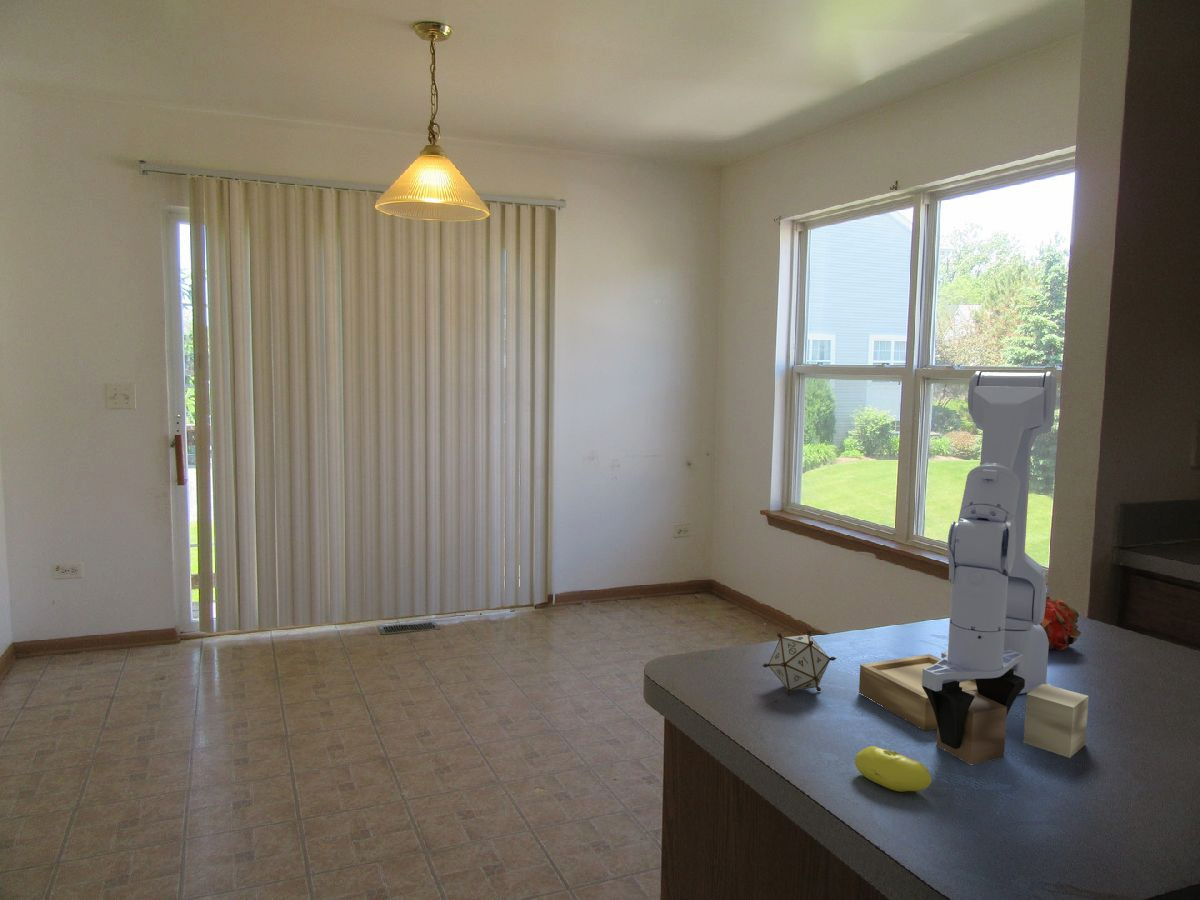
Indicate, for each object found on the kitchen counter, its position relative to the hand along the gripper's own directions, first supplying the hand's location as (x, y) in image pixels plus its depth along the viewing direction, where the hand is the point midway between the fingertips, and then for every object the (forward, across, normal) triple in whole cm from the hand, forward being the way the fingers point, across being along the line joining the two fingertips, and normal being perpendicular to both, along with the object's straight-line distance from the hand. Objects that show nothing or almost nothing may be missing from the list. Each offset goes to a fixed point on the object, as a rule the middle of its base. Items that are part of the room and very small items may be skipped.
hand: (970, 739), depth 93 cm
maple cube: (+2, -11, +3) cm, 11 cm away
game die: (+2, +6, -23) cm, 23 cm away
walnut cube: (+2, 0, 0) cm, 2 cm away
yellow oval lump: (+2, +14, +2) cm, 14 cm away
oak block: (+1, -6, -12) cm, 13 cm away
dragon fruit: (+2, -42, -19) cm, 46 cm away
